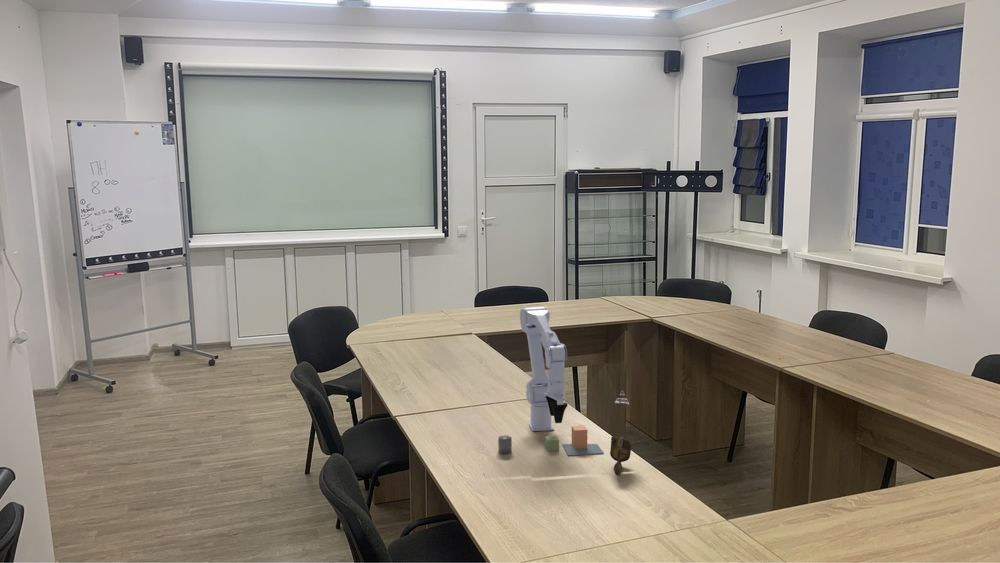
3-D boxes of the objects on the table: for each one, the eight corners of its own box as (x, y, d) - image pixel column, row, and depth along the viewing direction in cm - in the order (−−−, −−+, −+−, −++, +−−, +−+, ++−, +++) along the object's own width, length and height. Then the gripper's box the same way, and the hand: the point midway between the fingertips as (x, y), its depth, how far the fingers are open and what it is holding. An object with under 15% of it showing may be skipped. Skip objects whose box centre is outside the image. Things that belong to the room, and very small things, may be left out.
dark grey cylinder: (497, 450, 247) (497, 435, 247) (510, 449, 248) (510, 435, 247) (499, 454, 243) (499, 440, 242) (512, 454, 244) (512, 439, 243)
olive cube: (545, 447, 249) (545, 436, 249) (556, 447, 250) (556, 435, 249) (547, 451, 245) (547, 440, 245) (559, 451, 246) (559, 439, 245)
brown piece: (629, 462, 236) (629, 432, 234) (638, 478, 223) (638, 446, 222) (607, 462, 236) (607, 432, 234) (614, 478, 223) (614, 447, 222)
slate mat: (559, 441, 255) (559, 440, 255) (592, 439, 257) (592, 438, 257) (568, 456, 241) (568, 454, 241) (603, 453, 243) (603, 452, 243)
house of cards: (636, 405, 295) (636, 386, 294) (635, 412, 287) (635, 393, 286) (613, 404, 297) (613, 385, 296) (612, 410, 289) (612, 391, 288)
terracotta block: (571, 444, 251) (571, 426, 250) (584, 443, 251) (584, 425, 250) (574, 449, 246) (574, 430, 246) (587, 448, 247) (587, 429, 246)
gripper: (540, 375, 254) (540, 412, 256) (548, 386, 240) (548, 426, 242) (560, 374, 255) (560, 411, 257) (569, 385, 241) (569, 425, 243)
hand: (555, 419), depth 250 cm, fingers open, 7 cm apart
